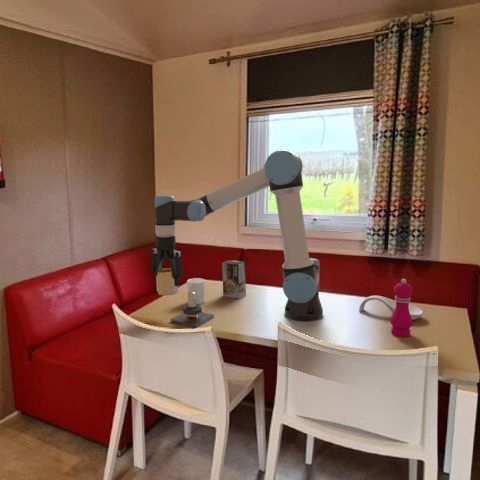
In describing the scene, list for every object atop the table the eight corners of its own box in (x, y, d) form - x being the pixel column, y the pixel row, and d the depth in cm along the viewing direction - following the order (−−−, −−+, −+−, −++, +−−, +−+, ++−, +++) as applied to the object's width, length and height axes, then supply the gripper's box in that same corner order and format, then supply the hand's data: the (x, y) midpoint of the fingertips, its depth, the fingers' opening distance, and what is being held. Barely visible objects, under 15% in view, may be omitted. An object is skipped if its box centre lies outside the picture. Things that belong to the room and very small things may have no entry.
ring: (204, 310, 158) (204, 306, 157) (194, 315, 152) (194, 311, 152) (190, 307, 161) (190, 303, 161) (179, 313, 155) (179, 309, 155)
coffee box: (246, 295, 187) (246, 261, 184) (239, 299, 181) (238, 264, 179) (230, 292, 192) (229, 259, 189) (222, 296, 186) (221, 262, 183)
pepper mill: (406, 329, 145) (409, 275, 142) (415, 337, 138) (419, 281, 135) (386, 329, 145) (389, 276, 142) (394, 338, 138) (398, 281, 135)
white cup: (207, 299, 181) (206, 278, 179) (203, 305, 173) (203, 283, 172) (189, 299, 182) (189, 277, 180) (185, 305, 174) (185, 282, 172)
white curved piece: (423, 315, 160) (425, 298, 158) (421, 325, 149) (423, 307, 148) (362, 306, 170) (363, 290, 169) (356, 315, 160) (357, 298, 159)
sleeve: (180, 291, 161) (179, 269, 160) (168, 296, 155) (168, 273, 153) (166, 289, 165) (165, 267, 163) (154, 293, 159) (153, 271, 157)
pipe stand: (213, 317, 159) (213, 290, 157) (196, 327, 149) (195, 299, 147) (189, 312, 165) (188, 286, 163) (170, 322, 155) (169, 294, 153)
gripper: (192, 236, 154) (193, 293, 158) (152, 232, 164) (154, 286, 168) (180, 238, 148) (181, 298, 152) (139, 234, 158) (142, 290, 161)
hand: (167, 292), depth 160 cm, fingers closed on sleeve, 7 cm apart
